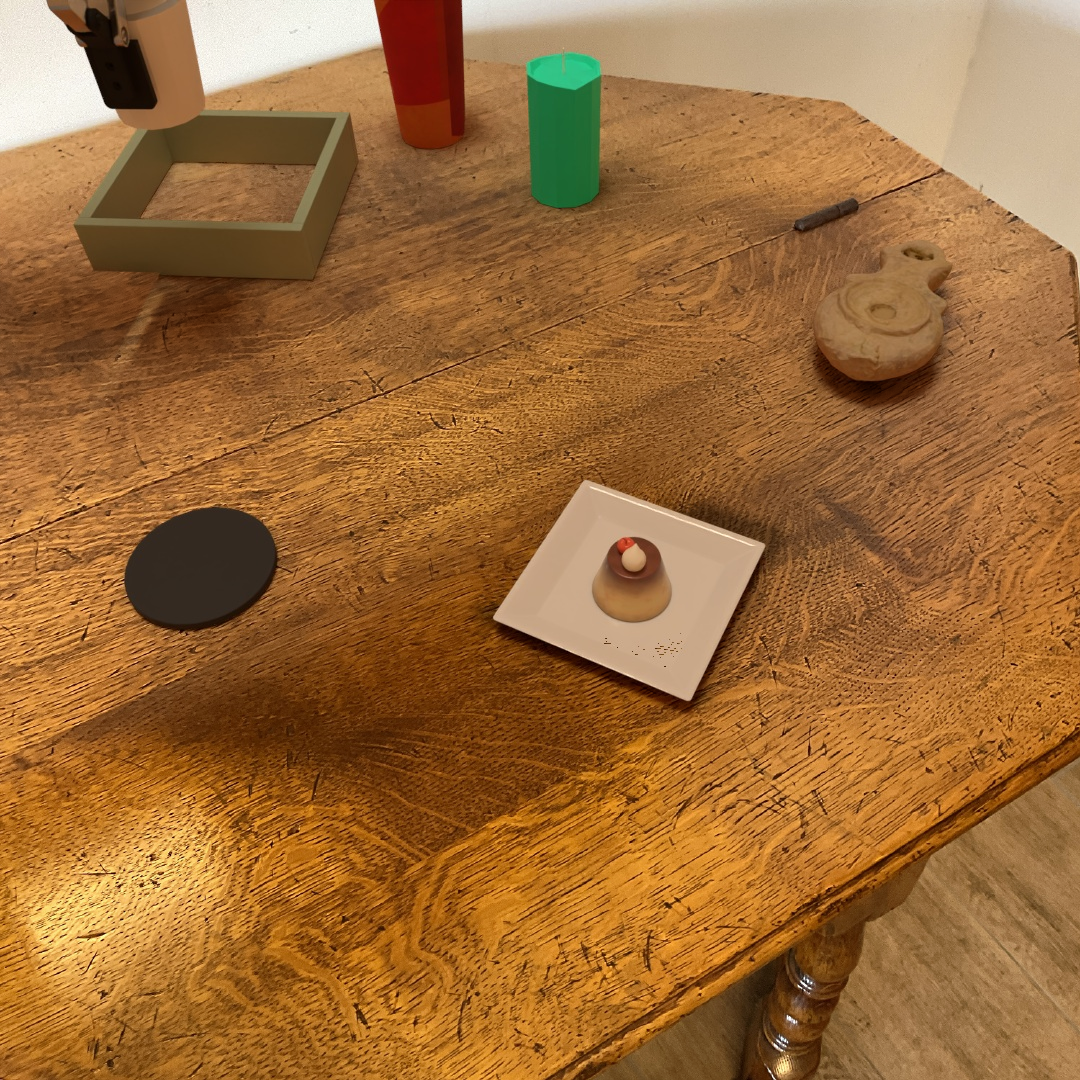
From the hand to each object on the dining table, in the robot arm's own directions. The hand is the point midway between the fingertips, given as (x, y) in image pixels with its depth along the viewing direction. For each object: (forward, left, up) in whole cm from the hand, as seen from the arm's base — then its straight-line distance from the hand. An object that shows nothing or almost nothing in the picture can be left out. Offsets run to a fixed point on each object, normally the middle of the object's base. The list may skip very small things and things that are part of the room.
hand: (151, 75), depth 64 cm
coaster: (+6, -26, -18) cm, 32 cm away
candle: (+25, +17, -18) cm, 35 cm away
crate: (-3, +12, -18) cm, 22 cm away
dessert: (+32, -26, -18) cm, 45 cm away
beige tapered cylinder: (0, 0, -2) cm, 2 cm away
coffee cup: (+12, +26, -18) cm, 34 cm away
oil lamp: (+49, -2, -18) cm, 52 cm away
